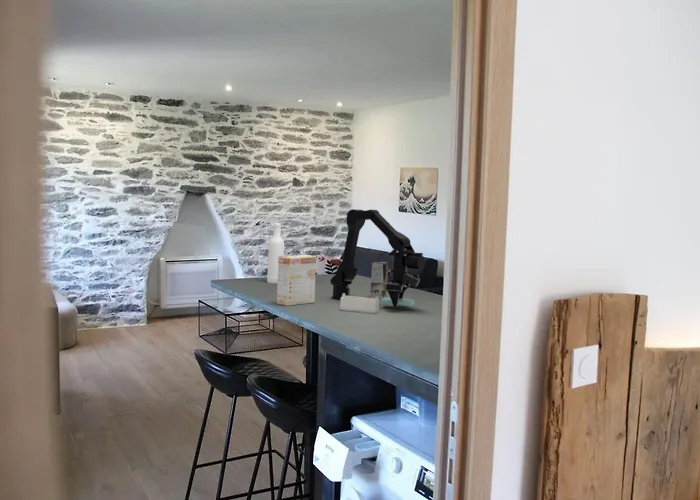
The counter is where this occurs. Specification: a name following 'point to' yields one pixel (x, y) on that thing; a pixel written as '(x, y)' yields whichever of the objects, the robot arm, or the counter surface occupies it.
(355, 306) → the tub
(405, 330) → the counter surface
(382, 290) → the coffee box
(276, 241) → the bottle
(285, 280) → the coffeecake box
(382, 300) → the lid
